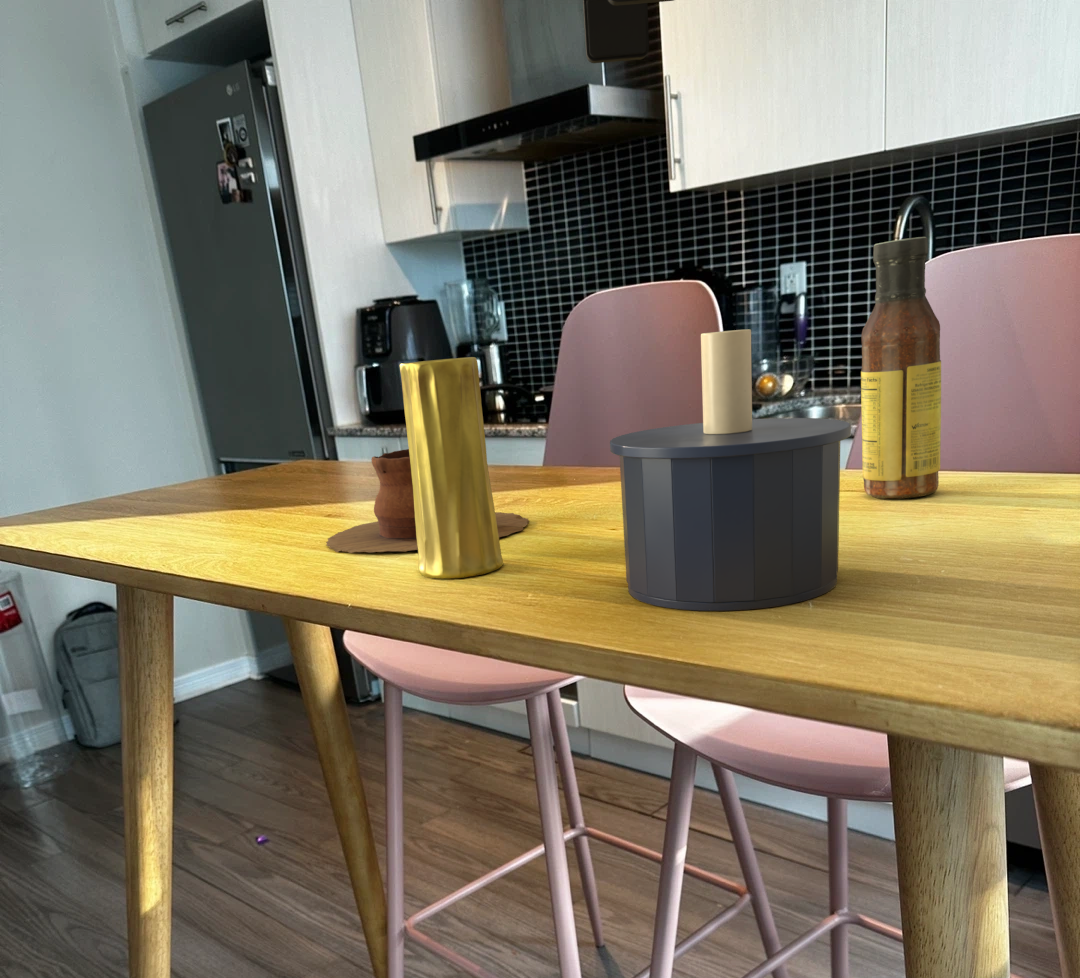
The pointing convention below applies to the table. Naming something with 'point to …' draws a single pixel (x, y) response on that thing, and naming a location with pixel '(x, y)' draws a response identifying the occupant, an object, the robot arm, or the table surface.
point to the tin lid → (729, 414)
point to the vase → (449, 469)
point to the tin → (732, 529)
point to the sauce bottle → (901, 377)
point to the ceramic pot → (399, 512)
